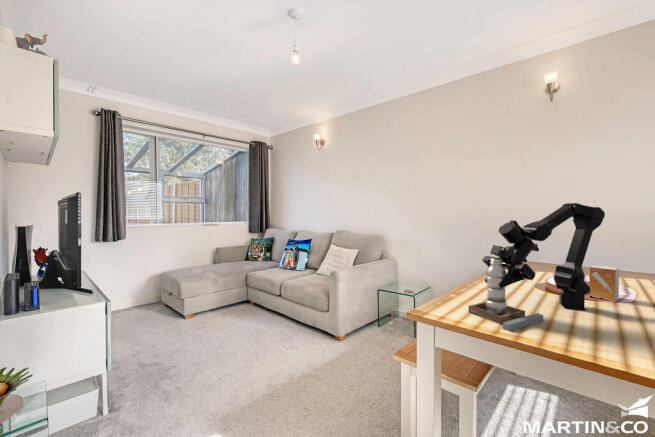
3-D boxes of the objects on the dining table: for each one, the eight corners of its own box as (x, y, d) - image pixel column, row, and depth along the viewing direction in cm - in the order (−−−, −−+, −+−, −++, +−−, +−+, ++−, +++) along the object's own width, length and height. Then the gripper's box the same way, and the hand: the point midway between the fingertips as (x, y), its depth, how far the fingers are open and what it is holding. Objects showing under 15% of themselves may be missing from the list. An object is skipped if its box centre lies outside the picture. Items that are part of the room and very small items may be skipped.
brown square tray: (491, 306, 111) (491, 300, 111) (525, 317, 100) (525, 310, 100) (468, 312, 106) (468, 305, 106) (501, 324, 94) (501, 317, 94)
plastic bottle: (506, 318, 98) (506, 261, 97) (484, 314, 102) (484, 259, 101) (508, 312, 103) (508, 258, 102) (487, 308, 107) (487, 256, 107)
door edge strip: (536, 318, 99) (536, 313, 99) (543, 320, 97) (543, 314, 97) (502, 328, 91) (502, 322, 91) (509, 331, 89) (509, 324, 89)
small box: (588, 297, 120) (588, 266, 120) (592, 294, 124) (593, 264, 124) (615, 302, 114) (616, 269, 113) (619, 299, 117) (619, 267, 117)
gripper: (486, 235, 112) (461, 265, 110) (528, 240, 94) (499, 275, 92) (503, 253, 114) (479, 283, 112) (548, 262, 95) (520, 297, 94)
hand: (492, 284), depth 102 cm, fingers open, 6 cm apart
